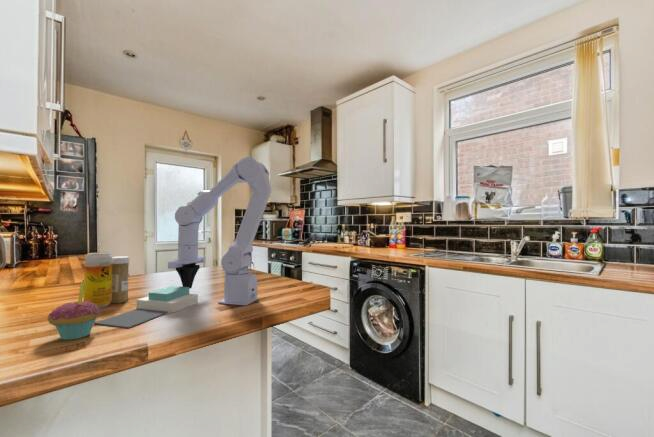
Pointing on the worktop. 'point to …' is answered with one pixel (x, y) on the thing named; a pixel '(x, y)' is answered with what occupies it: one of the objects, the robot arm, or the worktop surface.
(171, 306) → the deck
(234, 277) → the robot arm
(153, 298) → the teal rectangular block
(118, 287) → the sprinkles bottle
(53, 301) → the worktop surface
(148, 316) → the mat
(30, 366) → the worktop surface
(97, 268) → the beer can
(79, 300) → the cupcake
